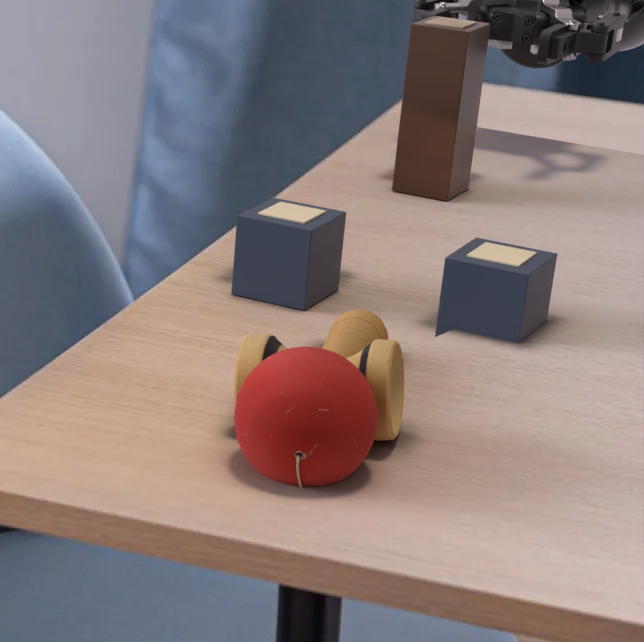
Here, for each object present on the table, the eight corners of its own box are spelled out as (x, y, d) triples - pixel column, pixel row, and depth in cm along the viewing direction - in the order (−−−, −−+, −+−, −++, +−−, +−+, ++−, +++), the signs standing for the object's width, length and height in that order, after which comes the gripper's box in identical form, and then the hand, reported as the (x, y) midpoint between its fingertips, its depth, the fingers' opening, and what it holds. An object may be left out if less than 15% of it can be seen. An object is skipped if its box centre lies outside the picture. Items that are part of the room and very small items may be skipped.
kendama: (261, 379, 90) (180, 470, 73) (297, 260, 87) (222, 326, 71) (407, 427, 88) (359, 531, 72) (447, 308, 86) (407, 386, 69)
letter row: (230, 294, 98) (236, 213, 96) (267, 274, 101) (273, 195, 99) (516, 358, 90) (529, 272, 88) (544, 334, 94) (558, 251, 92)
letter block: (413, 178, 122) (433, 13, 117) (468, 188, 120) (491, 21, 115) (391, 191, 118) (410, 22, 114) (447, 201, 117) (469, 30, 112)
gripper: (641, 73, 131) (575, 111, 119) (461, 47, 138) (379, 80, 125) (659, -32, 128) (593, -4, 116) (473, -54, 134) (391, -30, 122)
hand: (482, 40), depth 120 cm, fingers open, 8 cm apart
